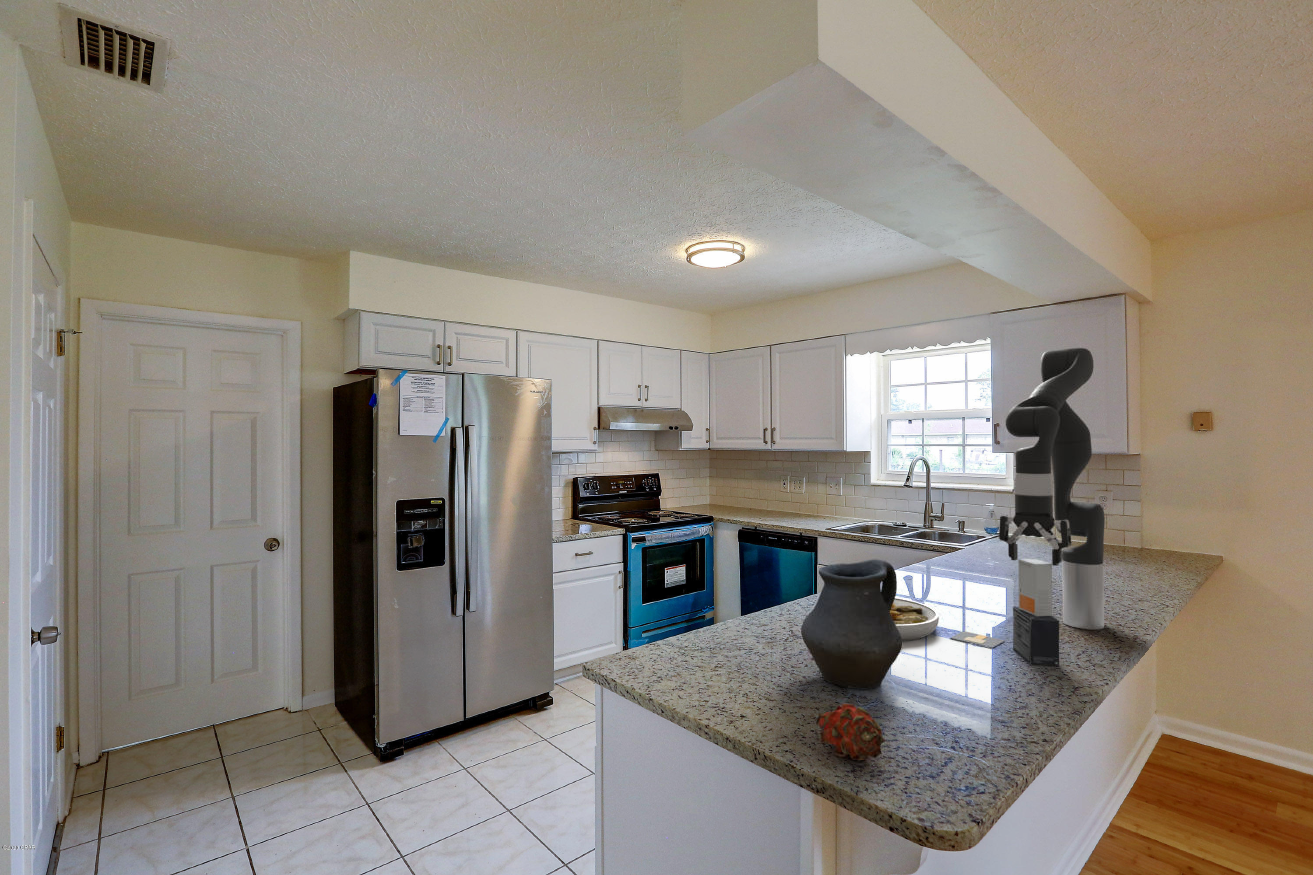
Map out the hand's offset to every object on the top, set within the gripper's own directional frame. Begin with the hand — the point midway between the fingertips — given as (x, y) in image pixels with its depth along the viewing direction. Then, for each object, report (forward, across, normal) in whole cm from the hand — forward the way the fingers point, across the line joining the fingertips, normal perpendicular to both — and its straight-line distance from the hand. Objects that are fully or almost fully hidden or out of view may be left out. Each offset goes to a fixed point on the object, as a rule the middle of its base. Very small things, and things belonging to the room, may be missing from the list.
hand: (1034, 562), depth 142 cm
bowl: (+23, +37, +4) cm, 44 cm away
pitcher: (+22, +21, +43) cm, 53 cm away
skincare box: (+12, 0, 0) cm, 12 cm away
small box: (+22, 0, 0) cm, 22 cm away
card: (+22, +14, -3) cm, 26 cm away
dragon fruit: (+22, +5, +71) cm, 75 cm away
